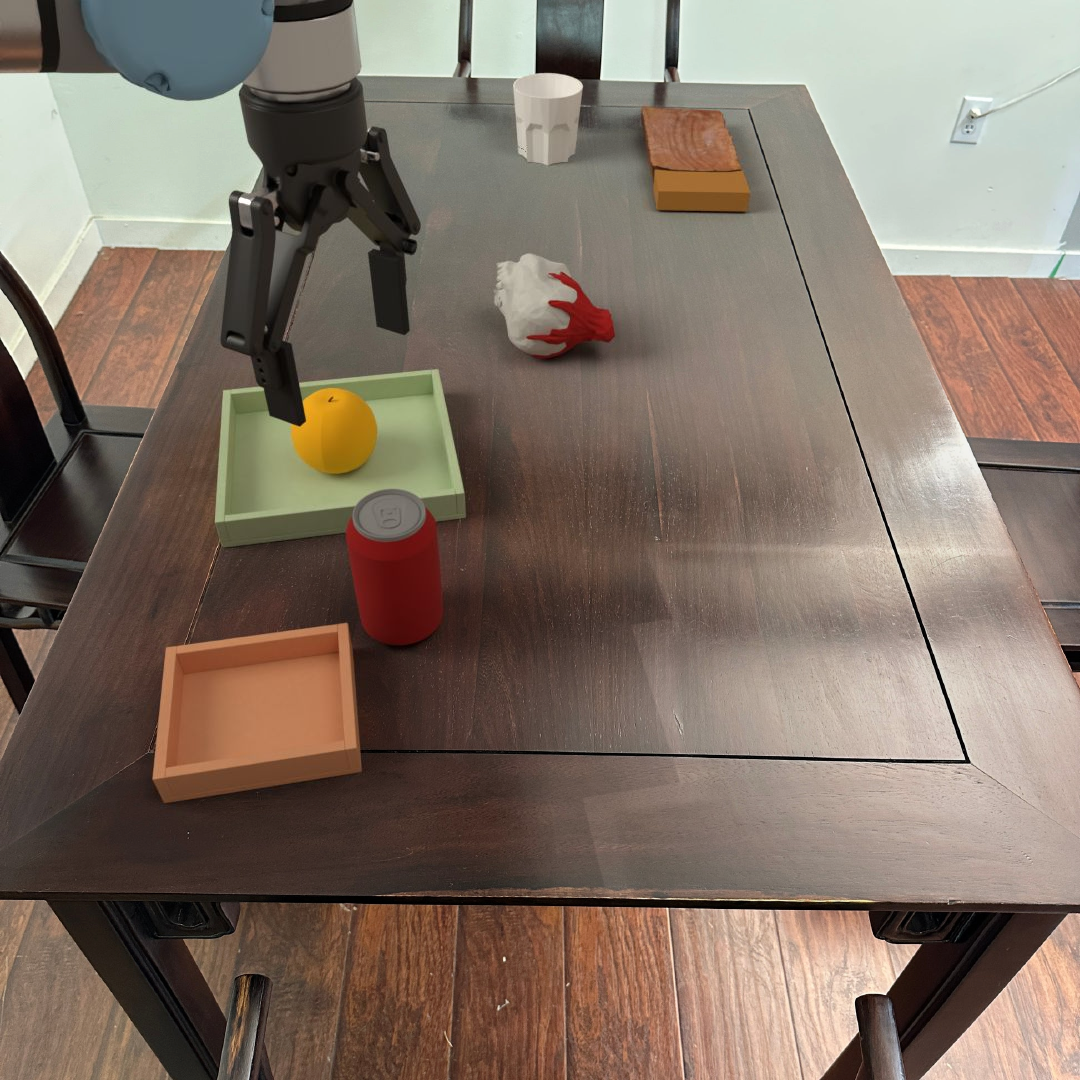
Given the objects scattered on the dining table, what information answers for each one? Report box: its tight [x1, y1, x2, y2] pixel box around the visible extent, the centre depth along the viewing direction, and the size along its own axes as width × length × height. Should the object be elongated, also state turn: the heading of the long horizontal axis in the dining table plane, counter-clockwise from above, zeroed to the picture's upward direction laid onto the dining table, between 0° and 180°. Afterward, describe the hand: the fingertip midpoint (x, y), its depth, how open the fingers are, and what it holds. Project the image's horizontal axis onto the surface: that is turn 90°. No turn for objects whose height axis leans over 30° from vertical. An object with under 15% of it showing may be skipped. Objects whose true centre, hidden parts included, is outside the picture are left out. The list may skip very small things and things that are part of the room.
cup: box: [512, 72, 584, 167], centre depth 142 cm, size 10×10×10 cm
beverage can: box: [345, 489, 444, 646], centre depth 75 cm, size 7×7×12 cm
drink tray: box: [152, 622, 363, 804], centre depth 71 cm, size 14×12×3 cm
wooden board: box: [640, 106, 751, 212], centre depth 142 cm, size 13×30×3 cm, turn 0°
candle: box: [493, 252, 616, 359], centre depth 106 cm, size 9×11×15 cm
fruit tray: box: [214, 368, 467, 549], centre depth 92 cm, size 22×20×3 cm
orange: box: [291, 388, 378, 474], centre depth 90 cm, size 8×8×8 cm
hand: (343, 371), depth 74 cm, fingers open, 13 cm apart
